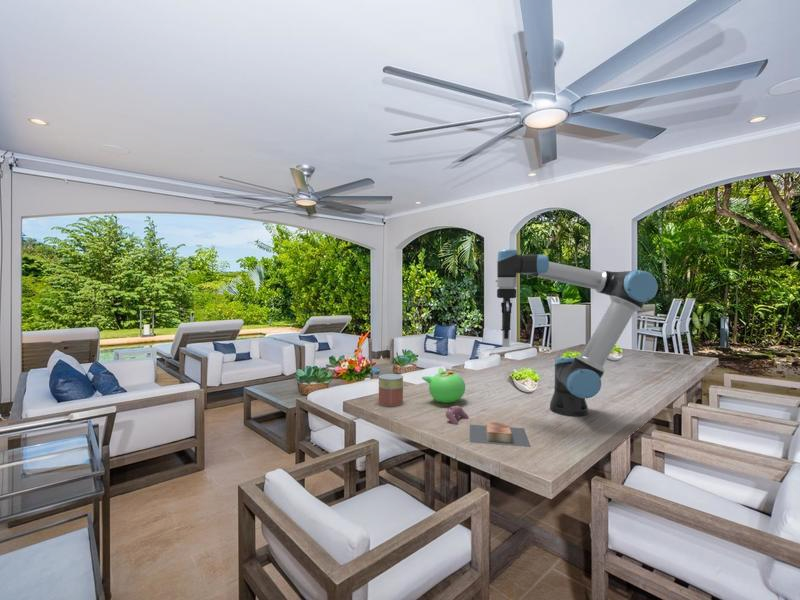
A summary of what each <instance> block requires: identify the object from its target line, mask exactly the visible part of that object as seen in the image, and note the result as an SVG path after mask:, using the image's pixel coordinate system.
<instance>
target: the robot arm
mask: <svg viewBox="0 0 800 600" xmlns="http://www.w3.org/2000/svg"><path fill="white" fill-rule="evenodd" d="M496 263H497V270H496V271H497V273H496V274H497V275H496V276H497V279H496V280H495V283H497V284H496V285H497V286H496V287H497V290H496V297H497V298H498V299H502V302H501V303H500V307H501V315H502V316H501V321H502V322H501V324H502V325H501V331H502V333H501V335H502V341H501V343H502V344H501V345H502V347H505V348H509V347H510V341H511V339H510V337H511V330H512V328H511V319H512V318H511V317H512V315H511V314H512V307H513V302H511V299H516V298H517V289H516V288H517V285H518V282H517V279H518V278H517V276H518V275H517V274H520V275H524V276H526V275H527V276H531V277H536V278H540V279H546V280H550V281H554V282H555V281H556V282H558V283H563V284H569V285H573V286H578V287H581V288H582V287H583V288H587V289H592V290H595V291H596V293H599V294H604V295H607V296H609V299H610V304H609V306H608V308H607V309H606V311H605V313H604V314H603V316H602V318H601V320H600V321H599V323H598V325H597V327H596V329H595V330H594V332H593V334H592V335H591V337H590V339H589V341H588V343H587V345H586V346H585V347H584V349H583V351H582V353H581V354H580V355H576V356H575V357H557V358H555V361H554V389H553V390H554V391H553V394H552V397H551V399H550V402H549V410H550V411H551V412H554V413H556V414H559V415H563V416H569V417H570V416H571V417H582V416H587V414H588V413H589V407H588V404H587V401H586V399H590V398H593V397H595V396H596V395H597V394H598V393H599V392H600V391H601V388H602V379H601V378H602V377H603V375H604V373H605V369H604V365H605V363H606V361H607V359H608V358H609V356H610V354H611V353H612V351H613V349H614V348H615V346H616V344H617V342H618V341H619V339H620V337H621V336H622V334H623V332H624V330H625V329H626V327H627V325H628V323H629V322H630V320H631V318H632V317H633V315H634V313H636V312H639V311H641V310H642V308H643V306H644V304H645V303H646V302H648V301H650V300H652V299H653V298H655V296H656V294H657V292H658V290H659V285H658V281H657V279H656V277H655V276H654V275H653V274H652V273H650V272H649V271H645V270H639V269H634V270H628V271H627V270H626V271H610V270H609V271H608V270H602V271H597V270H592V269H586V268H582V267H578V266H572V265H568V264H564V263H558V262H553V261H550V260H549V256H548V255H547V254H540V253H539V254H538V253H537V254H518V250H516V249H511V248H510V249H501V250H499V251H498V252H497V261H496Z"/></svg>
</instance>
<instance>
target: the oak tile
mask: <svg viewBox="0 0 800 600" xmlns="http://www.w3.org/2000/svg"><path fill="white" fill-rule="evenodd" d="M485 426H486V432H487V441H497V442H511V437H512V434H511V430H510V423H507V422H506V423H505V422H504V423H503V422H502V423H501V422H494V421H493V422H489V421H486V425H485Z"/></svg>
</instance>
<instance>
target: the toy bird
mask: <svg viewBox="0 0 800 600" xmlns="http://www.w3.org/2000/svg"><path fill="white" fill-rule="evenodd" d="M421 379H422V380H424V382H426V383H429V384H428V390H429V394H430V395H431V397H432V398H433V399H434V400H435V401H437V402H439V403H445V404H450V403H454V402H457V401H459V400H460V399H461V398H463V396H464V394H465V391H466V382H465V380H464V379H463V377H462V376H461V375H459V374H458V373H456V372H453V371H448V370H447V371H446V370H445V371H444V369H443V368H442V367H439V368H438V373H437V374H435V375H434V376H429V375H427V376H425V375H424V376H421Z"/></svg>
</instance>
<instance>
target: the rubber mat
mask: <svg viewBox="0 0 800 600" xmlns="http://www.w3.org/2000/svg"><path fill="white" fill-rule="evenodd" d="M510 430H511V434H512V437H511V442H497V441H487V432H486V425H479V424H469V443H473V444H474V443H475V444H486V445H500V446H510V447H511V446H513V447H527V448H528V447H529V448H531V447H532V446H531V444H530V441H529V439H528V436H527V433H526V429H525V428H523V427H512V426H511V427H510Z"/></svg>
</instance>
